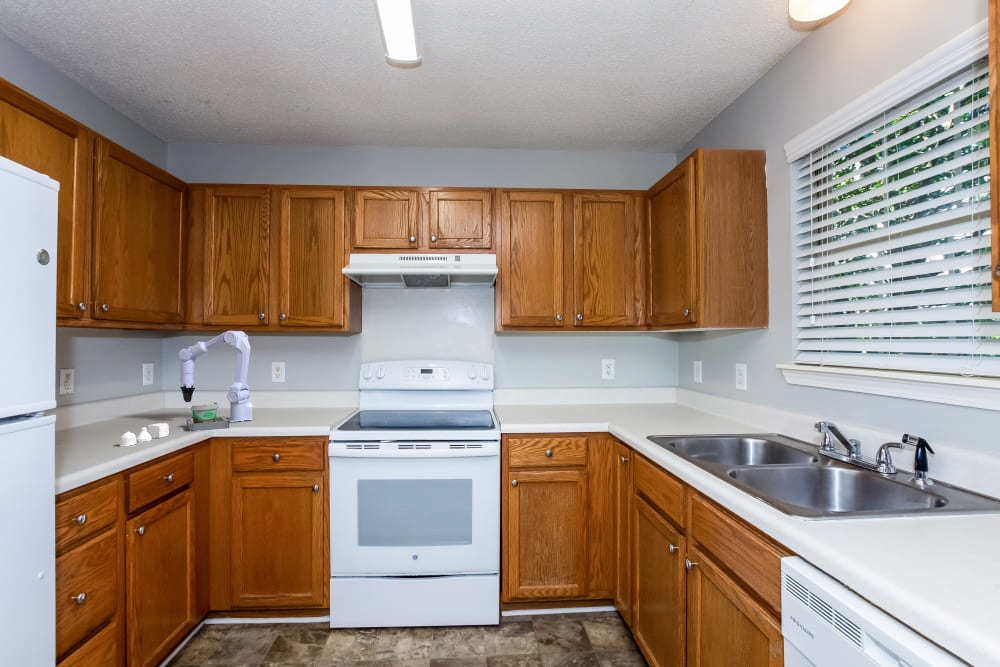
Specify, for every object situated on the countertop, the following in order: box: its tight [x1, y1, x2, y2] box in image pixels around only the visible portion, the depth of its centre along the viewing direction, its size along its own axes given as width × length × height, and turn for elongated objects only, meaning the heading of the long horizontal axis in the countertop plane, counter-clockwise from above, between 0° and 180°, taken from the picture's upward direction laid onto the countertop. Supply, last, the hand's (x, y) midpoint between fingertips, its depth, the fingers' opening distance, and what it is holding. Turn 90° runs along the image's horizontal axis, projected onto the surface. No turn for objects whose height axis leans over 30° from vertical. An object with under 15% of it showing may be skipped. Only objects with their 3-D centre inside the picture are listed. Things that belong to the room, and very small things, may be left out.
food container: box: [190, 401, 219, 424], centre depth 220 cm, size 12×6×10 cm, turn 160°
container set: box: [119, 422, 170, 447], centre depth 188 cm, size 20×5×6 cm, turn 177°
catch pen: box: [185, 415, 230, 432], centre depth 218 cm, size 15×16×3 cm
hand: (187, 401), depth 234 cm, fingers open, 7 cm apart
